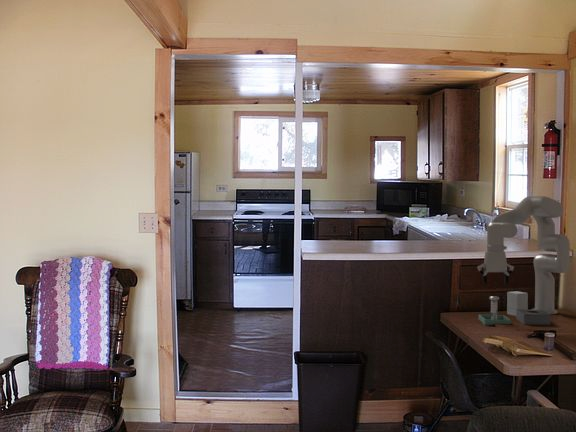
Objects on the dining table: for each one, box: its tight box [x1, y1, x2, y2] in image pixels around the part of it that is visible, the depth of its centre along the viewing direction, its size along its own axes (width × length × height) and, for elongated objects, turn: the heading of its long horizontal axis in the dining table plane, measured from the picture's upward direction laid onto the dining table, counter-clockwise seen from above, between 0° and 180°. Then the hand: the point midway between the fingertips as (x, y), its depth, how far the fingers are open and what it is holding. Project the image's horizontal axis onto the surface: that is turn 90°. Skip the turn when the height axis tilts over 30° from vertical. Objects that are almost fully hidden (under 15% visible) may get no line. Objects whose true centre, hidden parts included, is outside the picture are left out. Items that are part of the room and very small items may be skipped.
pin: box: [488, 295, 500, 320], centre depth 271 cm, size 4×4×12 cm
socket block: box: [515, 309, 552, 326], centre depth 269 cm, size 12×12×6 cm
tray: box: [478, 314, 512, 326], centre depth 271 cm, size 12×12×3 cm
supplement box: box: [506, 290, 529, 317], centre depth 287 cm, size 7×7×13 cm
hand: (495, 283), depth 271 cm, fingers open, 9 cm apart
